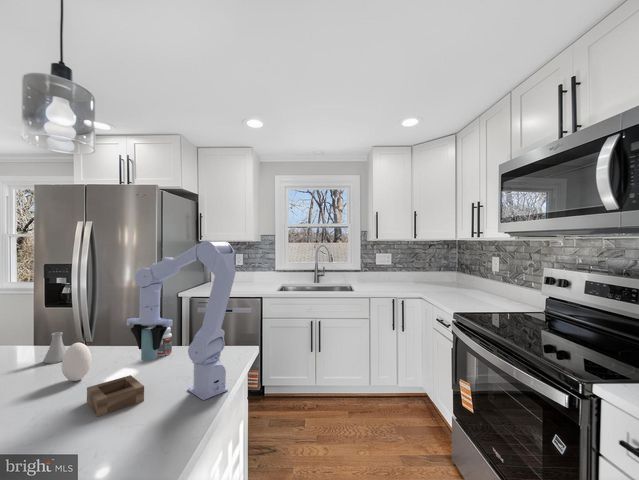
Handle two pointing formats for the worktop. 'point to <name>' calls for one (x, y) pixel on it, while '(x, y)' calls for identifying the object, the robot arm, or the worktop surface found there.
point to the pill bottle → (165, 344)
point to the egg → (76, 362)
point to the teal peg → (147, 345)
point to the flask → (55, 349)
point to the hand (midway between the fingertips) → (149, 348)
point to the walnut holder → (114, 395)
